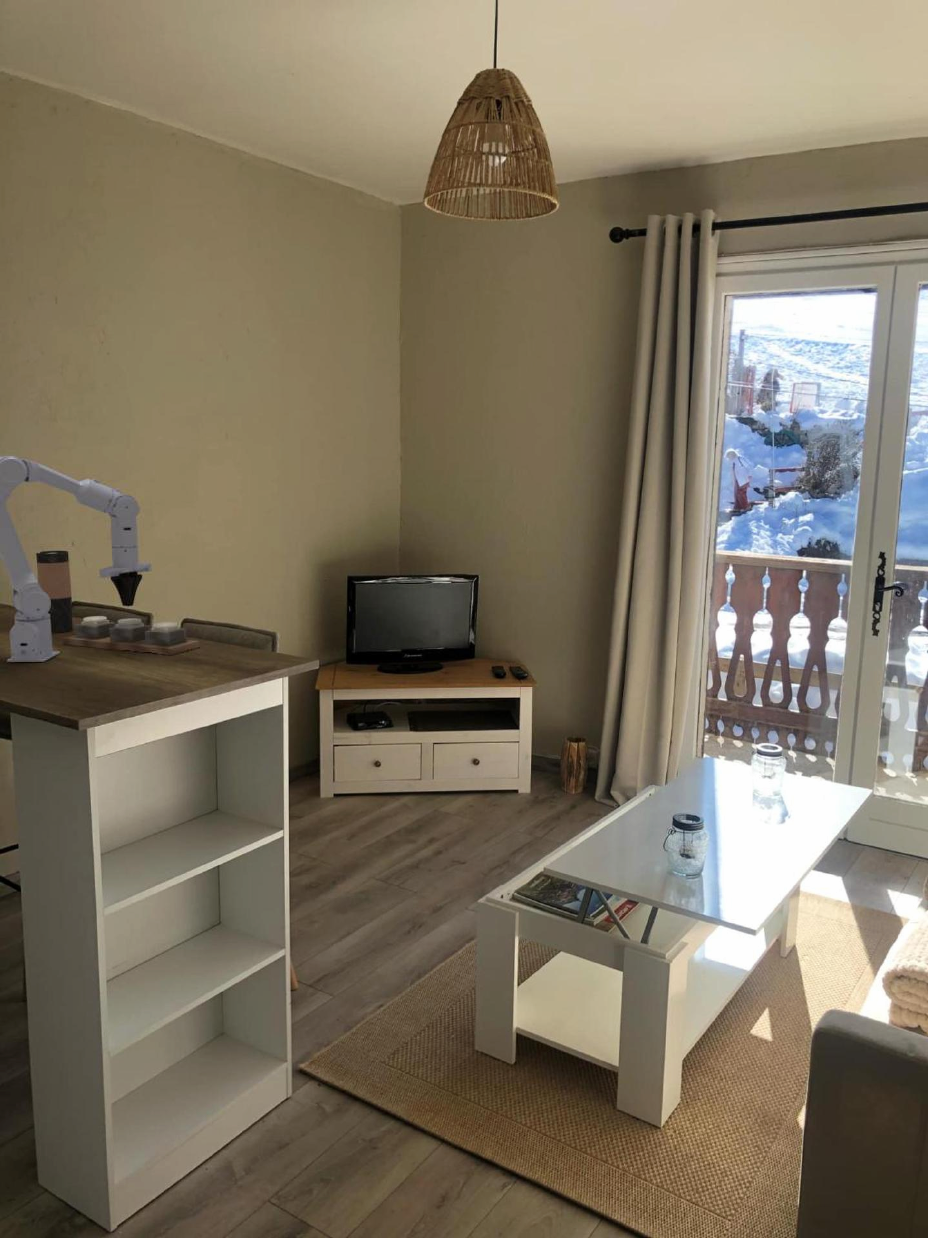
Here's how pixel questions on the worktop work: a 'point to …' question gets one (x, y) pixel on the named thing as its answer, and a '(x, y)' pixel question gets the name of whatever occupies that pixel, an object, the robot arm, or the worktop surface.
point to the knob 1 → (95, 621)
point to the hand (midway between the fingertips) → (127, 605)
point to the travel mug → (56, 587)
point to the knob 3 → (165, 627)
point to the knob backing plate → (131, 639)
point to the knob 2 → (129, 623)
